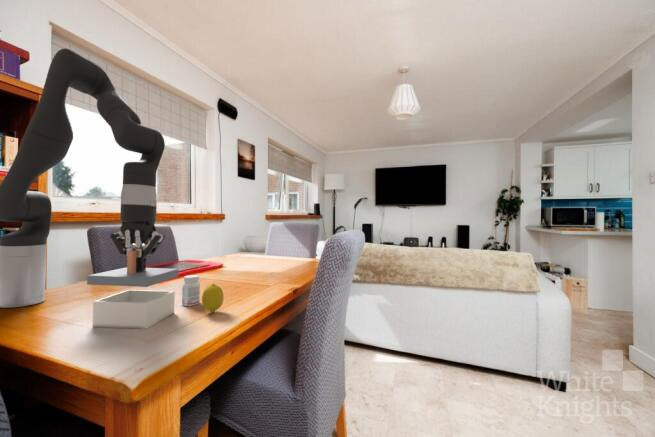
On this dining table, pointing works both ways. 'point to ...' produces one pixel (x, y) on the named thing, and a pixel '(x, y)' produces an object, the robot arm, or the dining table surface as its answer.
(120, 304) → the box
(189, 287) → the pill bottle
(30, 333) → the dining table surface
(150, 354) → the dining table surface
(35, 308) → the dining table surface
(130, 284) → the lid
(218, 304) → the lemon
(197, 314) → the dining table surface
